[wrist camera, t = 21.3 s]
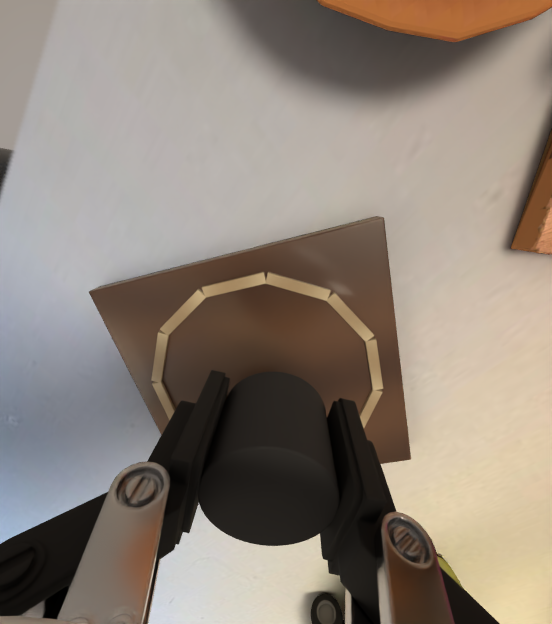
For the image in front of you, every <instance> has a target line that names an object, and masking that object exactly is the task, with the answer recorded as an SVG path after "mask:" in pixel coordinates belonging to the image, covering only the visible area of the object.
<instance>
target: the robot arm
mask: <svg viewBox="0 0 552 624" xmlns="http://www.w3.org/2000/svg"><path fill="white" fill-rule="evenodd" d="M225 375H226V373H223V372H219V371H214V370H211V372H210V374H209V376H208V378H207V381H206V383H205V385H204V387H203V389H202V391H201V394H200V396H199V398H198V400H197V402H196V403H192V402H188V401H183V400H182V401H180V403H179V404H178V406H177V408H176V410H175V412H174V413H173V415H172V417H171V419H170V421H169V423H168V424H167V426H166V428H165V430H164V432H163V434H162V435H161V437H160V439H159V441H158V443H157V445H156V446H155V448H154V450H153V452H152V454H151V456H150V457H149V459H148V461H147V462H139V463H136V464H133V465H130V466H129V467H127V468H125V469H124V470H122V471H121V472H120V473H119V474H118V475H117V476H116V477H115V479H114V481H113V482H112V484H111V486H110V489H109V491H108V492H107V493H105V494H103V495H101V496H98V497H96V498H94V499H92V500H90V501H88V502H86V503H84V504H82V505H79V506H77V507H75V508H73V509H71V510H69V511H67V512H65V513H63V514H60V515H58V516H56V517H54V518H52V519H50V520H48V521H46V522H44V523H41V524H39V525H37V526H35V527H33V528H31V529H29V530H27V531H25V532H23V533H20V534H18V535H16V536H14V537H12V538H10V539H8V540H6V541H5V542H3V543H1V544H0V624H148V622H149V617H150V612H151V607H152V601H153V596H154V591H155V586H156V580H157V575H158V570H159V565H160V559H161V558H163V557H164V556H165V555H167V554H168V553H170V552H171V551H173V550H174V548H175V545H176V544H179V542H180V539H181V536H182V533H183V532H186V533H189V532H190V529H191V526H192V523H193V519H194V516H195V513H196V509H197V506H198V503H199V500H198V491H199V485H200V480H201V476H202V472H203V469H204V466H205V463H206V460H207V457H208V454H209V450H210V447H211V444H212V441H213V438H214V435H215V432H216V429H217V426H218V423H219V419H220V416H221V413H222V410H223V407H224V404H225V401H226V397H227V392H228V387H229V382H230V378H228V377H225ZM327 422H328V428H329V434H330V440H331V446H332V452H333V458H334V464H335V470H336V476H337V481H338V487H339V494H340V503H339V508H338V510H337V512H336V515H335V517H334V519H333V521H332V522H331V524H330V525H329V526H328V527H327V528H326V529H325V530H323V531H322V532H321V533H320V537H321V549H322V556H323V559H325V560H328V569H329V573H330V574H335V575H340V580H341V583H342V584H343V585H344V587H345V588H346V591H345V624H499V623H498V622H497V621H496V620H495V619H494V618H493V617H492V616H491V615H490V614H489V613H488V612H487V611H486V610H485V609H484V608H483V607H482V606H481V605H480V604H479V603H478V602H477V601H476V600H474V599H473V598H472V597H471V596H470V595H469V594H468V593H467V592H466V591H465V590H464V589H463V588H462V587H461V586H460V585H459V584H458V583H457V582H456V581H455V580H454V579H453V578H452V577H451V576H449V575H448V574H447V573H446V572H445V571H444V570H443V569H442V568H441V567H440V566H439V562H438V558H437V554H436V550H435V548H434V545H433V542H432V540H431V539H430V537H429V535H428V534H427V532H426V531H425V530H424V529H423V528H422V526H421V525H420V524H419V523H418V522H416V521H415V520H414V519H412V518H411V517H409V516H407V515H405V514H403V513H399V512H396V509H395V506H394V503H393V500H392V497H391V494H390V491H389V488H388V485H387V482H386V479H385V476H384V473H383V470H382V468H381V465H380V462H379V459H378V456H377V453H376V450H375V447H374V445H373V442H371V441H370V440H367V437H366V434H365V431H364V428H363V425H362V422H361V419H360V415H359V412H358V409H357V406H356V403H355V401H352V400H347V399H343V398H339V400H338V401H333V403H332V406H331V409H330V411H329V414H328V417H327Z"/></svg>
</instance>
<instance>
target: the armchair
mask: <svg viewBox="0 0 552 624" xmlns="http://www.w3.org/2000/svg"><path fill="white" fill-rule="evenodd" d="M511 249H517V250H523V251H530V252H536V253H545V254H549V253H550V254H552V130H551V132H550V135H549V138H548V141H547V144H546V147H545V150H544V153H543V156H542V159H541V161H540V164H539V167H538V170H537V173H536V176H535V179H534V182H533V185H532V188H531V191H530V193H529V196H528V199H527V202H526V205H525V208H524V211H523V214H522V217H521V220H520V222H519V225H518V228H517V231H516V234H515V237H514V240H513V243H512V246H511Z"/></svg>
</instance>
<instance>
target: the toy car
mask: <svg viewBox="0 0 552 624" xmlns="http://www.w3.org/2000/svg"><path fill="white" fill-rule="evenodd" d="M311 621H312V624H345V620H343V615H342V610H341V607H340V605H339V603H338V602H337V600H336V599H335V598H334V597H333V596H331V595H329V594H321V595H319V596H317V597H316V598H315V600H314V601H313V604H312V607H311Z"/></svg>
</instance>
